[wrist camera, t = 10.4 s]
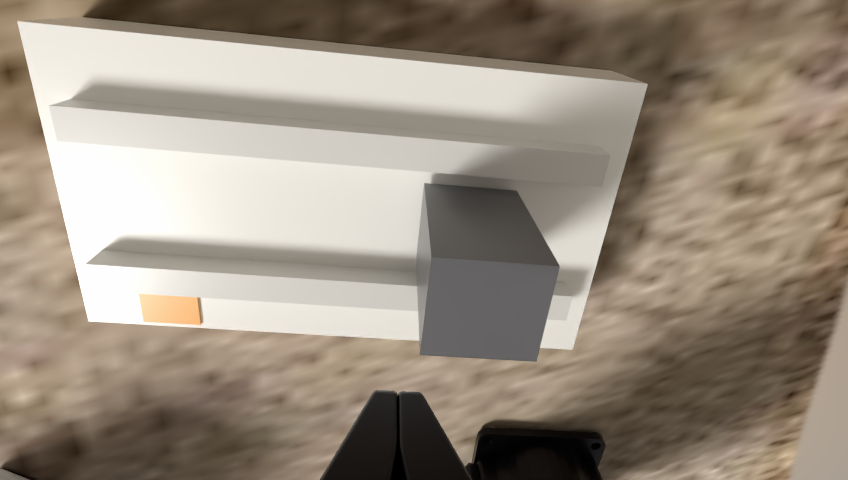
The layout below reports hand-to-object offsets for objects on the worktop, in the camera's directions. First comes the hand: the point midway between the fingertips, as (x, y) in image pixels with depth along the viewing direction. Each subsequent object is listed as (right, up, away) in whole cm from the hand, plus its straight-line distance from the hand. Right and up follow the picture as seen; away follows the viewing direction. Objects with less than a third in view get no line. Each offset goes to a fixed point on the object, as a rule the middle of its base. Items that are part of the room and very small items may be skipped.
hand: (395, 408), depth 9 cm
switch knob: (+2, +3, +8) cm, 9 cm away
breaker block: (-2, +5, +10) cm, 12 cm away
